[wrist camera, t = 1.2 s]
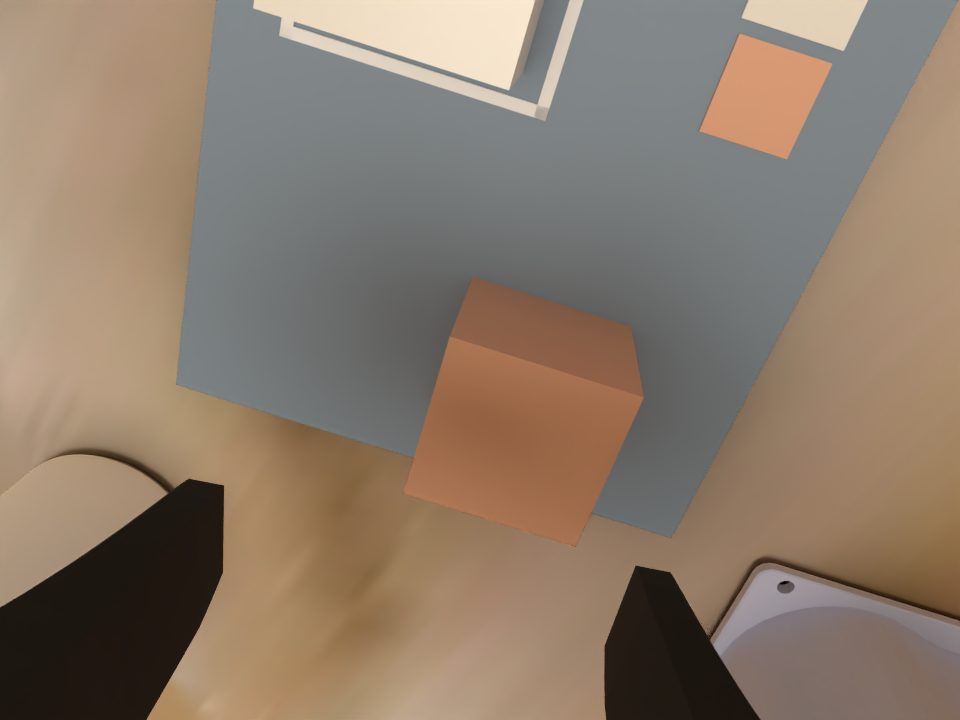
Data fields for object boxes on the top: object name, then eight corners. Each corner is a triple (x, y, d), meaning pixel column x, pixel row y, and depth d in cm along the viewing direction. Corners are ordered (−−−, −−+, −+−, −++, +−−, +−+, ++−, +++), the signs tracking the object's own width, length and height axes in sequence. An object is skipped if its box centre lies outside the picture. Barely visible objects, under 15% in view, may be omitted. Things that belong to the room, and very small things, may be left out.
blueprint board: (1011, -126, 15) (1030, -132, 14) (669, 525, 23) (671, 540, 22) (268, -373, 15) (254, -390, 14) (185, 375, 23) (174, 386, 22)
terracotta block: (631, 327, 20) (643, 397, 16) (575, 457, 22) (575, 546, 18) (472, 276, 19) (449, 336, 16) (431, 413, 21) (403, 493, 18)
